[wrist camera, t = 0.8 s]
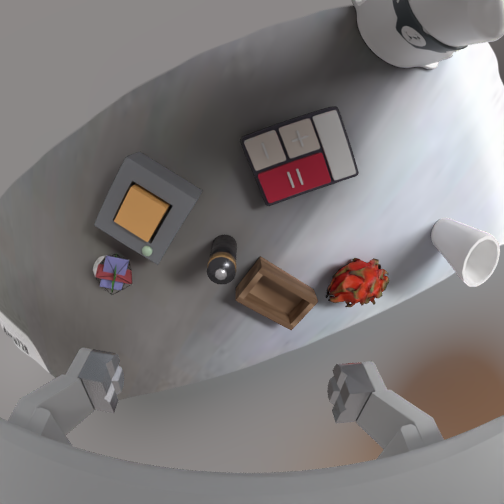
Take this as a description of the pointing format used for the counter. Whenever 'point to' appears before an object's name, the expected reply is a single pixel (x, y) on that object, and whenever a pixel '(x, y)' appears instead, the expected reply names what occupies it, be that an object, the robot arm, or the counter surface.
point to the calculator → (300, 155)
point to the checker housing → (158, 183)
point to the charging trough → (275, 294)
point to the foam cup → (466, 250)
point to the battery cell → (222, 260)
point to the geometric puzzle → (112, 272)
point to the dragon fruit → (358, 283)
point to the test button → (141, 212)
